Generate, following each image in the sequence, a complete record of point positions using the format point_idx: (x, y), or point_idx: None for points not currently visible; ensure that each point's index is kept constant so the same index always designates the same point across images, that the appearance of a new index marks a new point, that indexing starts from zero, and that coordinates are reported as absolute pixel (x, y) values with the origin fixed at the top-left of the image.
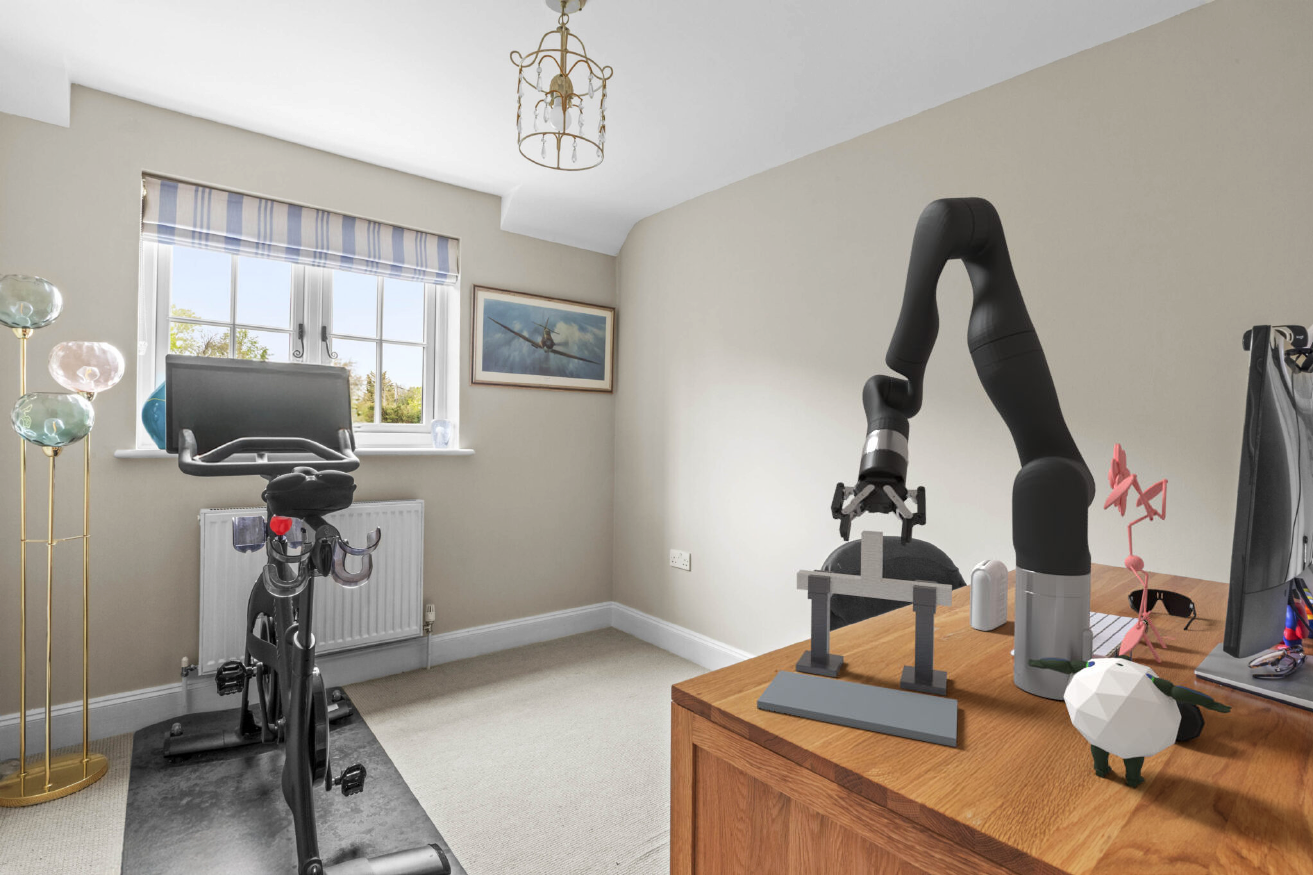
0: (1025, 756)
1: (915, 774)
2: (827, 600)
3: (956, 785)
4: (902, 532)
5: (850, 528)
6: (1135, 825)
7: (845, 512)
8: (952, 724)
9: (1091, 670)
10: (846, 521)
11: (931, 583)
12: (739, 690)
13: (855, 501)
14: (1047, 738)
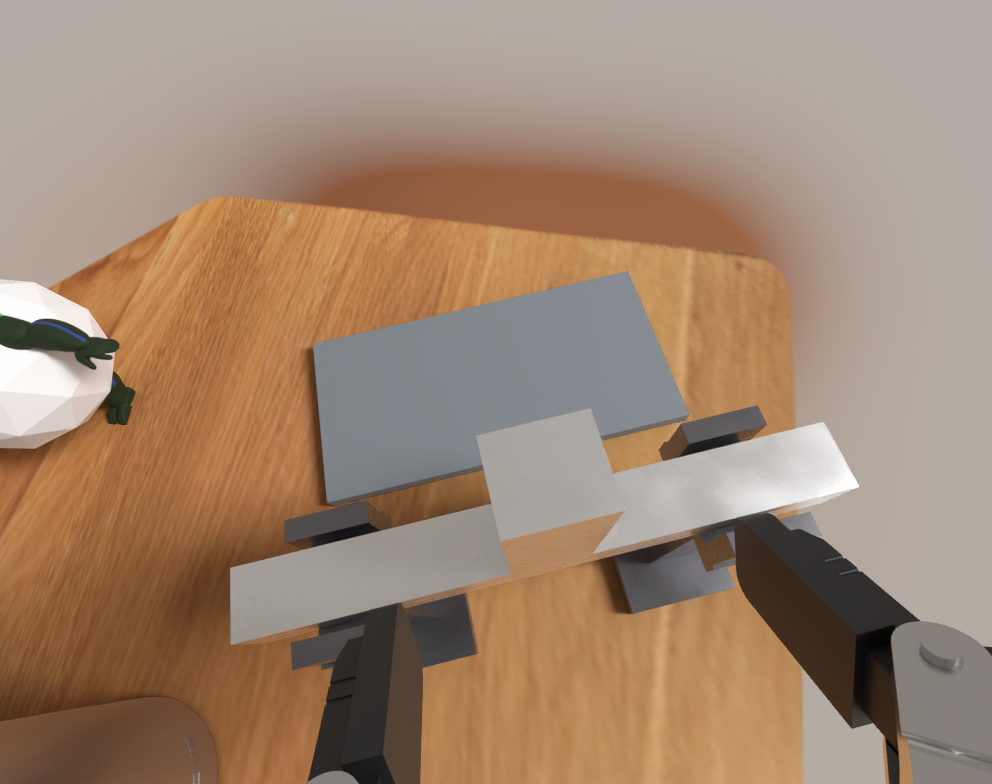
0: (223, 386)
1: (356, 253)
2: (660, 450)
3: (307, 260)
4: (387, 635)
5: (811, 673)
6: (121, 300)
7: (922, 637)
8: (323, 388)
9: (2, 303)
10: (824, 578)
11: (310, 613)
12: (698, 317)
13: (962, 763)
14: (183, 474)
